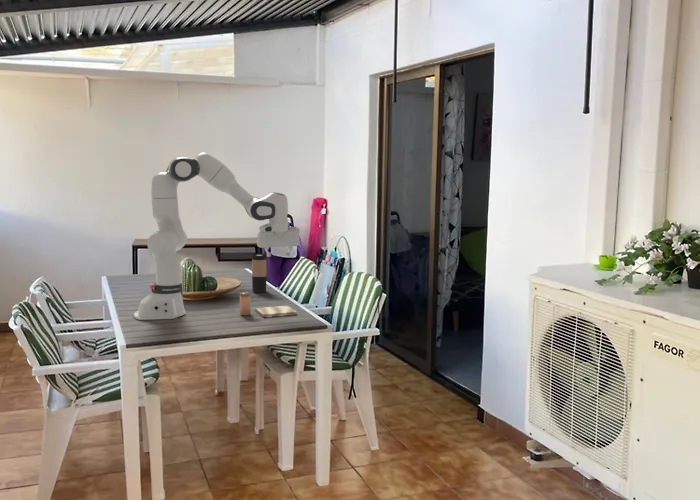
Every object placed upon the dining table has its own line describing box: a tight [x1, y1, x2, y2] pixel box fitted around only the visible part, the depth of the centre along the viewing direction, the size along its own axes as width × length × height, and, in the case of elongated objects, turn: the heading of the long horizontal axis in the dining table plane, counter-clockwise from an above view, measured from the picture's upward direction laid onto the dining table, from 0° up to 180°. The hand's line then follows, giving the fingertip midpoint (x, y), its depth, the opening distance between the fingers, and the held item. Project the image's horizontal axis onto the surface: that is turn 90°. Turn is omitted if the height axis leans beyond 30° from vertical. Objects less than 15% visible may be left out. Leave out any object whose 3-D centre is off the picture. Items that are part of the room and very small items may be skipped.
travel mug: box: [251, 253, 267, 294], centre depth 347 cm, size 8×8×20 cm
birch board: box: [255, 305, 298, 318], centre depth 302 cm, size 16×13×2 cm
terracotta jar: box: [239, 291, 252, 317], centre depth 297 cm, size 5×5×10 cm
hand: (278, 256), depth 308 cm, fingers open, 8 cm apart
